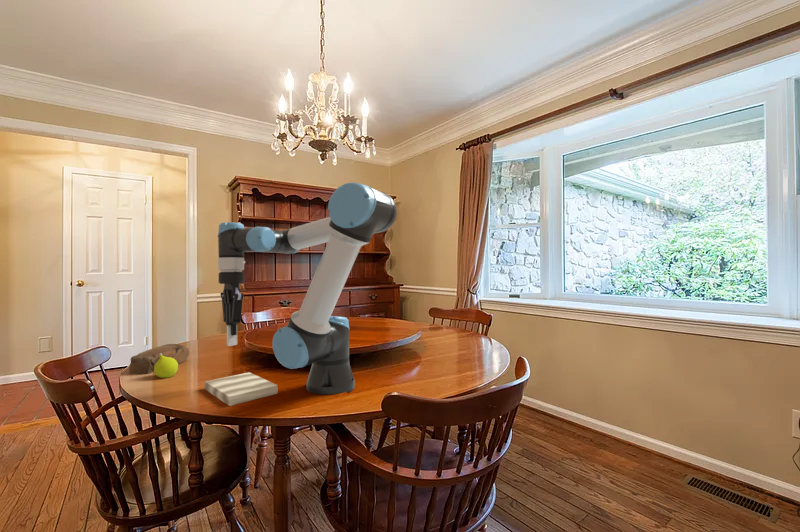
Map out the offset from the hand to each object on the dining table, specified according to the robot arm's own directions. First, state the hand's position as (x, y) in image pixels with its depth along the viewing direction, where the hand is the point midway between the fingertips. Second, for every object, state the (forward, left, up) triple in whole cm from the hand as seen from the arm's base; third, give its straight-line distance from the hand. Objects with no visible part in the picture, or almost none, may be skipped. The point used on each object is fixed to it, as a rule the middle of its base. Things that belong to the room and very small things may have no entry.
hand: (232, 345), depth 117 cm
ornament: (+26, +12, -14) cm, 32 cm away
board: (-7, 0, -13) cm, 15 cm away
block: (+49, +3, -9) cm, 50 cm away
